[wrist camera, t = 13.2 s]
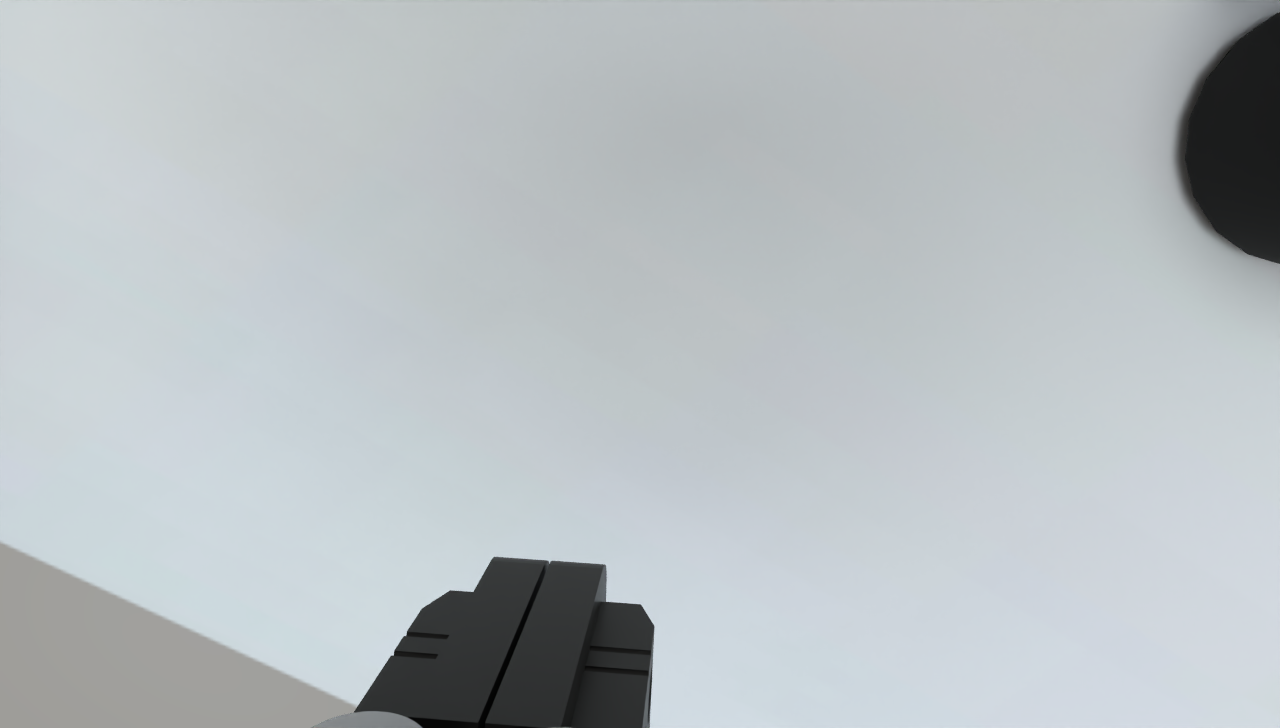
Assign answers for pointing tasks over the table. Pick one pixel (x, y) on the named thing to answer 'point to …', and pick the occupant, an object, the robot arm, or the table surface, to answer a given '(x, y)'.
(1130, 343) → the table surface
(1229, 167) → the coffee jar
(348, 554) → the table surface
